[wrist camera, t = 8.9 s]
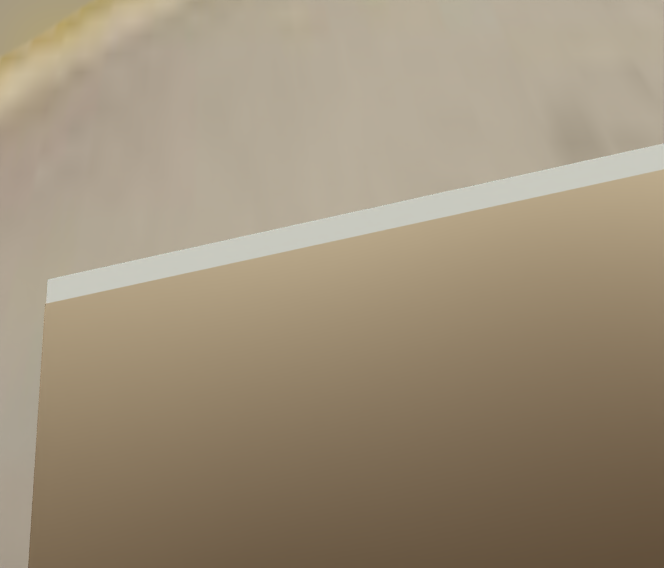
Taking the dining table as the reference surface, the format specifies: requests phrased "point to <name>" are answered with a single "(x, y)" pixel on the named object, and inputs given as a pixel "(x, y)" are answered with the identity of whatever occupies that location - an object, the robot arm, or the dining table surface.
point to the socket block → (359, 223)
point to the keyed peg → (371, 400)
